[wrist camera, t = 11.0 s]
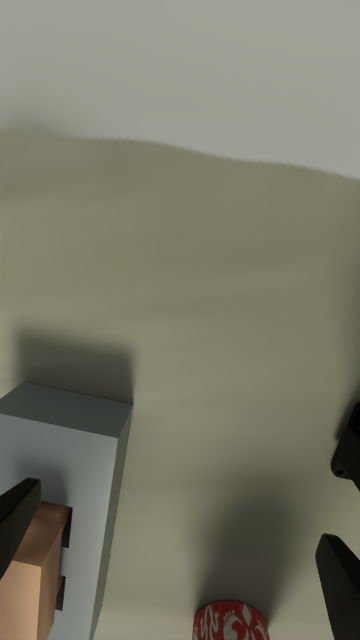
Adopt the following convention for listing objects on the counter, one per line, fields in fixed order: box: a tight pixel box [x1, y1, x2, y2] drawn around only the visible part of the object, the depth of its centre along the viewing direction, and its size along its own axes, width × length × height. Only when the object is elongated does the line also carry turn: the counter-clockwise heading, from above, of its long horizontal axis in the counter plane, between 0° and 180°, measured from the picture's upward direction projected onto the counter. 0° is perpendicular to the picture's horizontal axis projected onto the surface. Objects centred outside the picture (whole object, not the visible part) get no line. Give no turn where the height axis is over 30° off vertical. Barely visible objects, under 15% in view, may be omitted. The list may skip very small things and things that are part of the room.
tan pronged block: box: [0, 501, 73, 640], centre depth 20 cm, size 4×10×6 cm, turn 170°
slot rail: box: [0, 382, 133, 640], centre depth 22 cm, size 9×24×4 cm, turn 170°
